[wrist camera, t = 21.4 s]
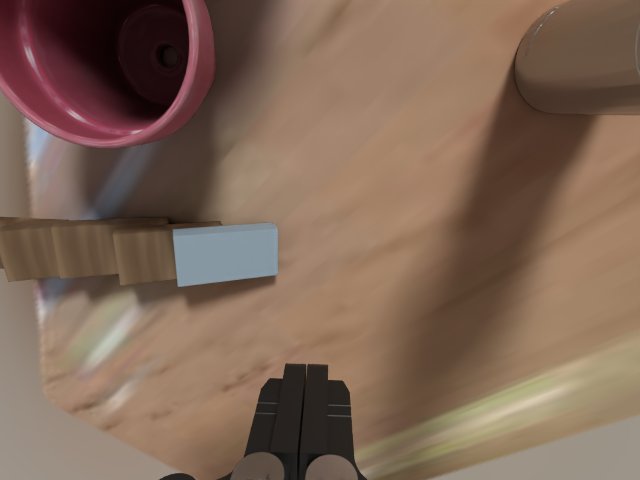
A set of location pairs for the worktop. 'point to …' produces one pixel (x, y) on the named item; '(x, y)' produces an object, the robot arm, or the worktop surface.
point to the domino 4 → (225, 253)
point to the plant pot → (106, 66)
